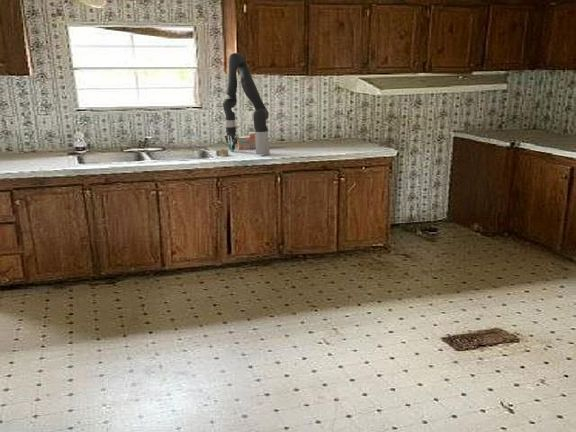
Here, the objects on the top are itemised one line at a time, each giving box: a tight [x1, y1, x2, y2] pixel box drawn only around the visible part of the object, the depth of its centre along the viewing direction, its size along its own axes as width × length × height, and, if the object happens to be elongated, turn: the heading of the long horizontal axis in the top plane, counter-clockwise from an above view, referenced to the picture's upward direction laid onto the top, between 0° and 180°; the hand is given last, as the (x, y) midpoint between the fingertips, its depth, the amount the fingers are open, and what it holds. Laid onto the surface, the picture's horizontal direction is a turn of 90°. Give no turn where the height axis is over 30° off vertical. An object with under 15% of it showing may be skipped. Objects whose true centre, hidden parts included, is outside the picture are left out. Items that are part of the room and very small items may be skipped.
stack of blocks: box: [237, 131, 256, 150], centre depth 432 cm, size 21×6×12 cm, turn 99°
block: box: [217, 148, 229, 157], centre depth 399 cm, size 5×5×4 cm
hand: (232, 149), depth 413 cm, fingers closed
